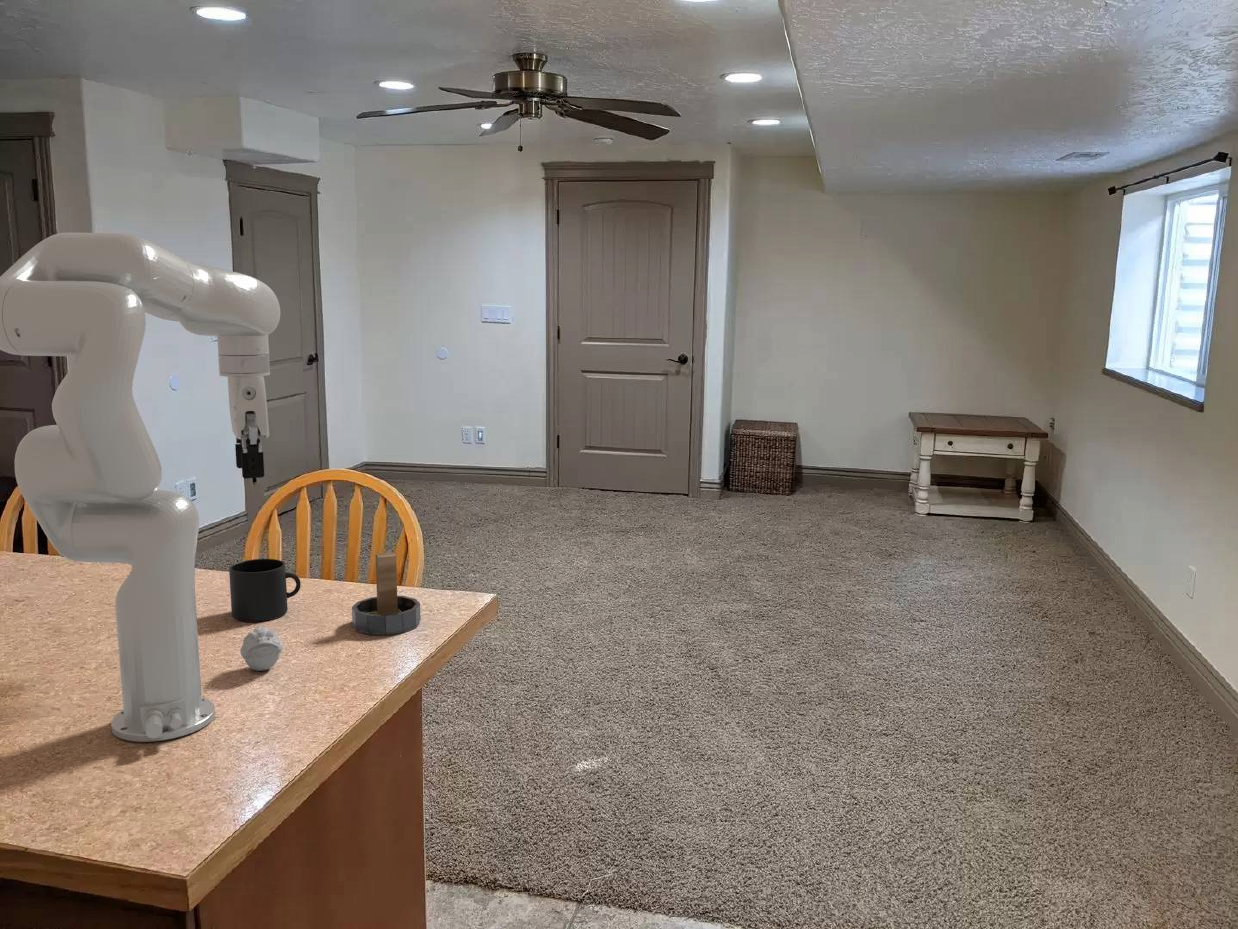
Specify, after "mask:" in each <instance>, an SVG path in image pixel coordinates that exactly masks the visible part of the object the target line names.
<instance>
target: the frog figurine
mask: <svg viewBox="0 0 1238 929" xmlns="http://www.w3.org/2000/svg"><path fill="white" fill-rule="evenodd" d="M242 642H243V643H242V645H241V648H240V651H239V652H240V655H241V658H242V659H243V660H244V662H245V663H246V664H247V666H248V667H249V668H250V669H252V670H254V671H259V672H263V671H267V670H269V669H271V668H273V666H275V664H277V662H278V660H279V658H280V654H281V653H282V651H283V647H284V645H283V643H282V642H281V639H280V637H279V635H278V633H276V632H275V630H274V629H269V628H268V627H266V626H262V627H260V626H258V627H255V628H254V629H253V631H250V632H248V634H247V635H246V636H245V637H244V639H243V640H242Z"/></svg>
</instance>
